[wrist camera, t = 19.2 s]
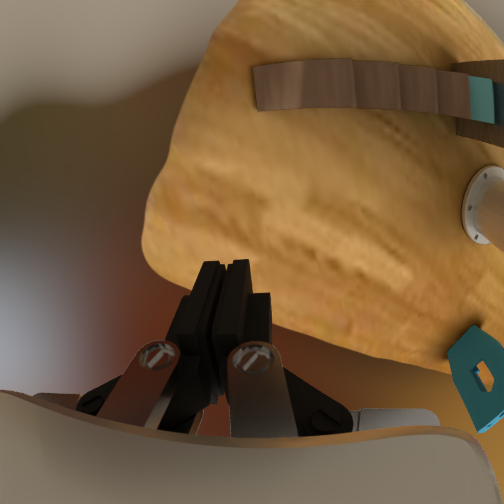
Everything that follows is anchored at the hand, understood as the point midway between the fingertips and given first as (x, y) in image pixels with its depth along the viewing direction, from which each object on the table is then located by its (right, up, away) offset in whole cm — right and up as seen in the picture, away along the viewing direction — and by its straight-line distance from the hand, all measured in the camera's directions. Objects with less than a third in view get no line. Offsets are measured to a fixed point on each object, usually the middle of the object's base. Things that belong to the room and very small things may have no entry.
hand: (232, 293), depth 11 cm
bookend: (+28, +21, +14) cm, 38 cm away
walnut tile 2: (+6, +19, +15) cm, 25 cm away
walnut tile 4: (+16, +20, +15) cm, 29 cm away
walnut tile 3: (+11, +19, +15) cm, 27 cm away
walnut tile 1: (+1, +19, +15) cm, 24 cm away
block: (+45, -17, +34) cm, 59 cm away
